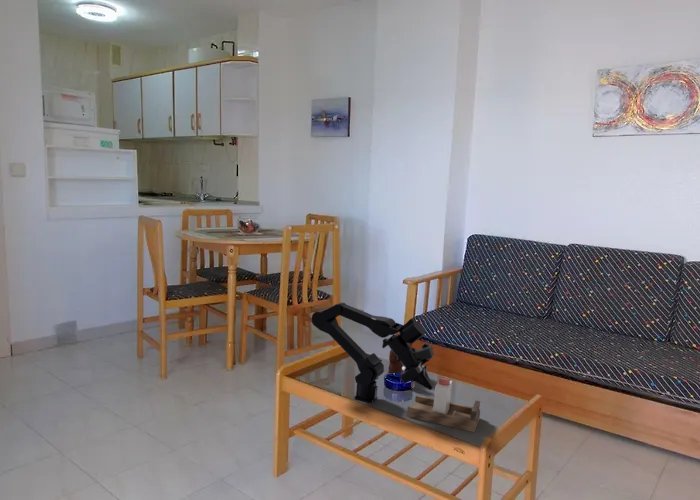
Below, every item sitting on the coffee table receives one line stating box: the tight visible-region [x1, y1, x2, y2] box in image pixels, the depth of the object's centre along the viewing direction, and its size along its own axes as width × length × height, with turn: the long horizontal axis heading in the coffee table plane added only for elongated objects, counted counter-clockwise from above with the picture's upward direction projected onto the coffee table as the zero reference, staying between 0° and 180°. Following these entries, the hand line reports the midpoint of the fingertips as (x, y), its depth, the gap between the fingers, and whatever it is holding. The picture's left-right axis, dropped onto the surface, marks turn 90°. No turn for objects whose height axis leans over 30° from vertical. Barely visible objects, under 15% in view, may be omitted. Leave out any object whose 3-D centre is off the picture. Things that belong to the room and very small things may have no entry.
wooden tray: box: [406, 394, 481, 433], centre depth 169 cm, size 22×12×6 cm, turn 69°
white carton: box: [433, 377, 453, 414], centre depth 169 cm, size 4×8×11 cm, turn 159°
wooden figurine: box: [387, 332, 413, 374], centre depth 207 cm, size 12×6×18 cm, turn 151°
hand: (431, 388), depth 171 cm, fingers closed
